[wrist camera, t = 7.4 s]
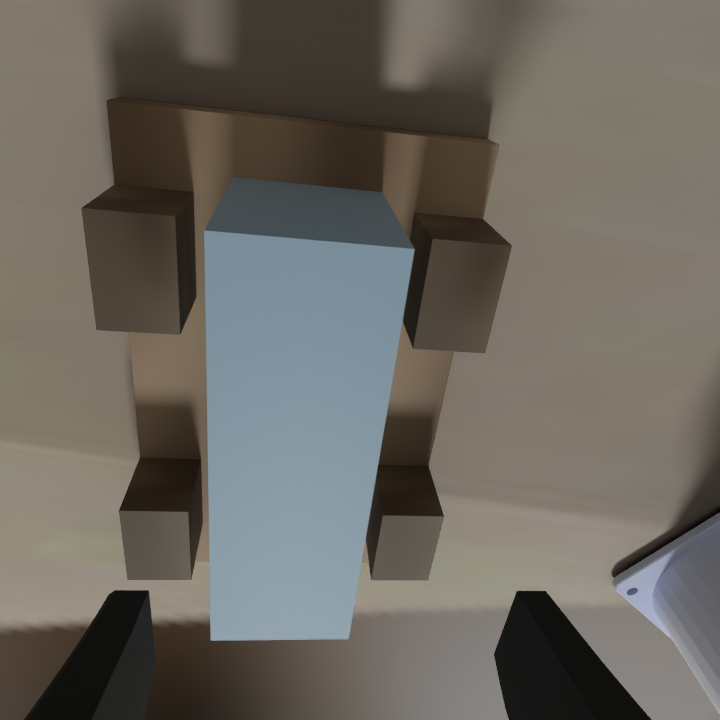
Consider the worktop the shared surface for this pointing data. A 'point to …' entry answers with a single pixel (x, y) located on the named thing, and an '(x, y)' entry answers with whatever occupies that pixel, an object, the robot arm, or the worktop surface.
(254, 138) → the cradle jig
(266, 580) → the pale blue rectangular prism
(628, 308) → the worktop surface
